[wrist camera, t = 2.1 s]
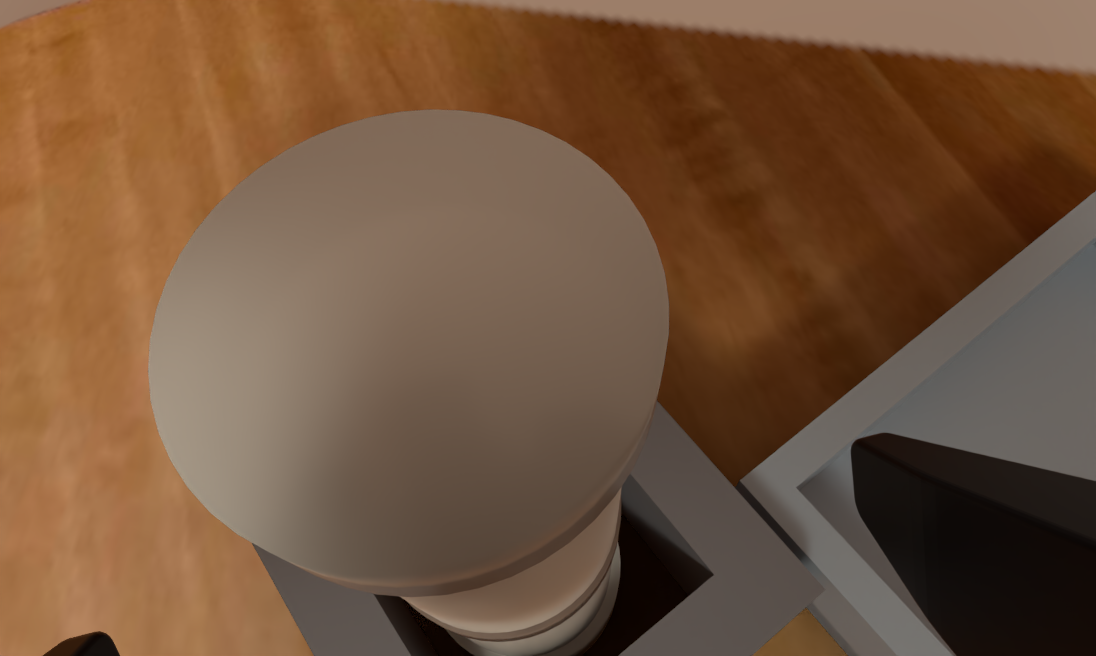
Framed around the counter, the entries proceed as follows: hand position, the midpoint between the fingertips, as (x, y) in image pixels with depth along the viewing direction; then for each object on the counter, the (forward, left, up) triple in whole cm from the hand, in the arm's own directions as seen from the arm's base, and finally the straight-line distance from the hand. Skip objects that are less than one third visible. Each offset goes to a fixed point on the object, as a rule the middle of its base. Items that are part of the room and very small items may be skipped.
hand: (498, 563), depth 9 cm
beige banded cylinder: (+1, -1, -9) cm, 9 cm away
